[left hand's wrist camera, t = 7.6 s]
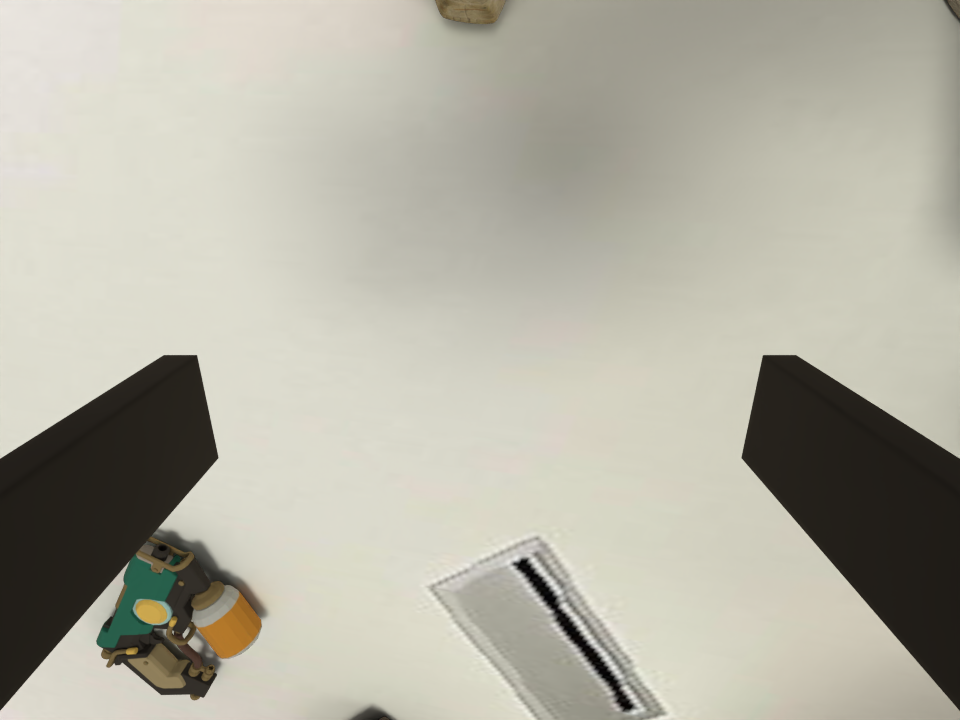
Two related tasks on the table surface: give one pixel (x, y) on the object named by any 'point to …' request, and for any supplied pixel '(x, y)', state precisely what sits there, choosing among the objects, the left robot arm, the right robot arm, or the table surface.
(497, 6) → the sculpture
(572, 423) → the table surface
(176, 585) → the spray gun
